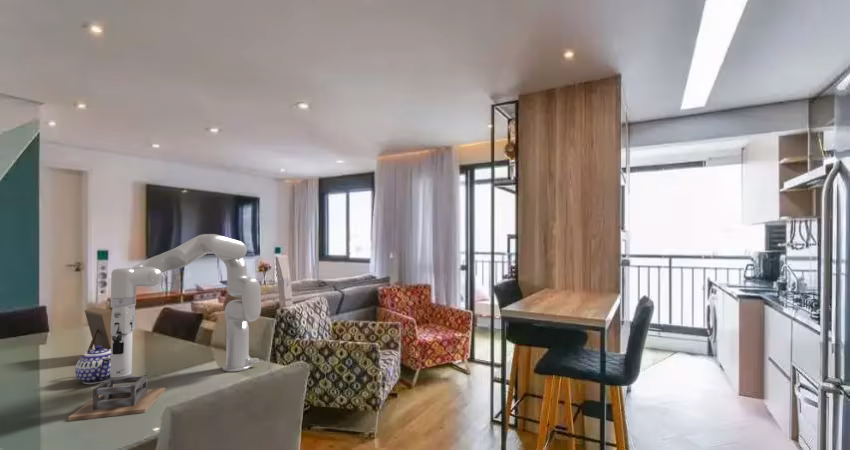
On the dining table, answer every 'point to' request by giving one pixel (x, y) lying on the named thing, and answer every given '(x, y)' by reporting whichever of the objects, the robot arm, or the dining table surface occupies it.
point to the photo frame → (99, 327)
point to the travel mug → (122, 359)
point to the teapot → (94, 366)
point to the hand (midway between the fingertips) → (122, 351)
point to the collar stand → (119, 399)
